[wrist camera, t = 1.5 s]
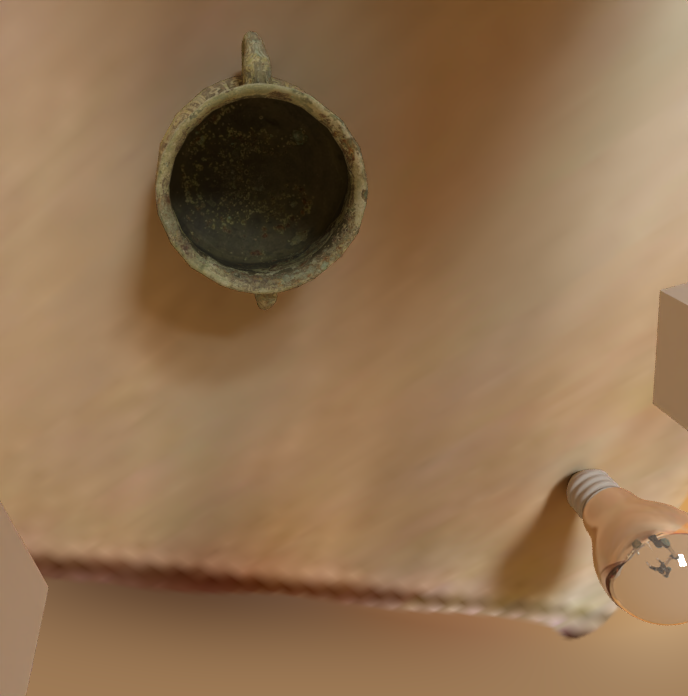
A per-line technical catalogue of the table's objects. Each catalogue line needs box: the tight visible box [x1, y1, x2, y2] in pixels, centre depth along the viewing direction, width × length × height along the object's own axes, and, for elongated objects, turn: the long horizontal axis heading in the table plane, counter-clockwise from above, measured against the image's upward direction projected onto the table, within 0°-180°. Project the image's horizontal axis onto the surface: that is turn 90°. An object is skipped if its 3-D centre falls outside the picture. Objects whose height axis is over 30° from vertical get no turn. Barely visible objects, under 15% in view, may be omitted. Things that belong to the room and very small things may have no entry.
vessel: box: [155, 31, 368, 310], centre depth 29 cm, size 12×9×6 cm
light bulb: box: [567, 469, 688, 625], centre depth 41 cm, size 7×7×12 cm
